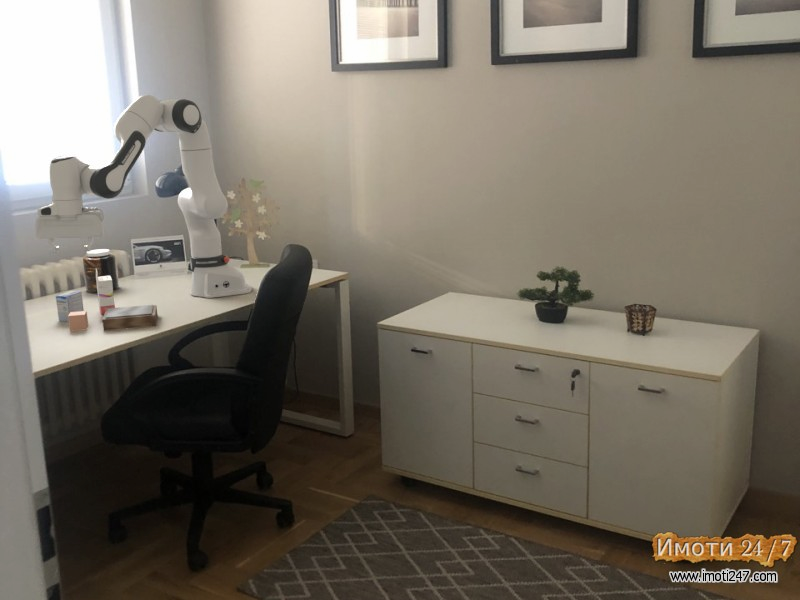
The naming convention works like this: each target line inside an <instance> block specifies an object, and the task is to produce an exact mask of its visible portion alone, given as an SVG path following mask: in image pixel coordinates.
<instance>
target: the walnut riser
mask: <svg viewBox="0 0 800 600" xmlns="http://www.w3.org/2000/svg"><path fill="white" fill-rule="evenodd" d="M101 321H102V329H103V331H104V332H105V331H116V330H126V328H128V329H137V328H139V329H140V328H148V327H149V328H150V327H156V326H157V321H158V306H157V304H146V305H135V306H121V307H115V308H109V309H106V312H105V314H103V316H102V320H101Z"/></svg>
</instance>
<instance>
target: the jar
mask: <svg viewBox="0 0 800 600" xmlns="http://www.w3.org/2000/svg"><path fill="white" fill-rule="evenodd" d="M82 265H83V268H82V269H83V276H84V282H85V291H86V293H94V294H95V293H97V294H98V292H97V283H96V269H97V272H98V277H101V276H111V279H112V284H113V291H116V290H118V289H119V286H120V284H119V276H118V268H117V261H116V255H114V254H112V253H111V250H110V249H107V248H100V249H98V248H97V249H92V250H91V251H90V252H86V256H84V257H83V258H82Z"/></svg>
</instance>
